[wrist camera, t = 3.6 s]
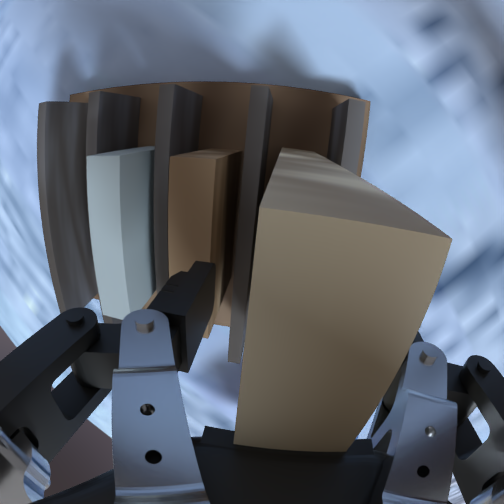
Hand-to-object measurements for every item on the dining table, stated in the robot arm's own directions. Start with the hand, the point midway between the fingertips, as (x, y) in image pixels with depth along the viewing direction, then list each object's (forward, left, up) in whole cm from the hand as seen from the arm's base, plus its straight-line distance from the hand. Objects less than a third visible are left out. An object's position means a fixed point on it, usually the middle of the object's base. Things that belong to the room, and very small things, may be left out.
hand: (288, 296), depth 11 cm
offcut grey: (+9, 0, -9) cm, 13 cm away
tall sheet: (0, 0, -9) cm, 9 cm away
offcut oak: (+4, 0, -9) cm, 10 cm away
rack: (+7, 0, -11) cm, 12 cm away
